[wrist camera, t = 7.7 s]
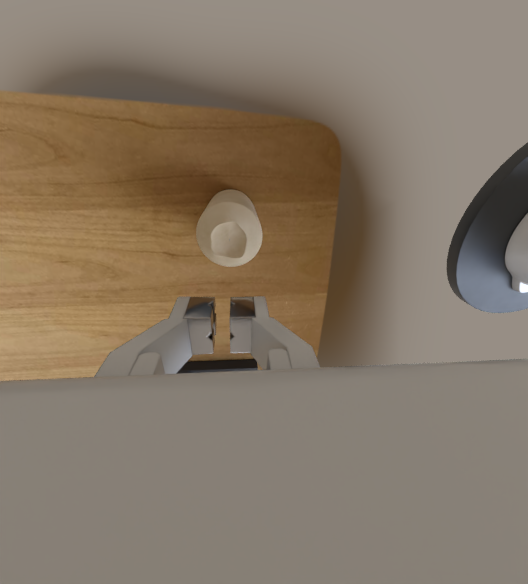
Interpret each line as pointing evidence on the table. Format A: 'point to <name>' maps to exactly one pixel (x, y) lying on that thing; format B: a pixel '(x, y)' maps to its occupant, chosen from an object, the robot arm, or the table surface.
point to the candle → (229, 229)
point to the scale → (218, 366)
